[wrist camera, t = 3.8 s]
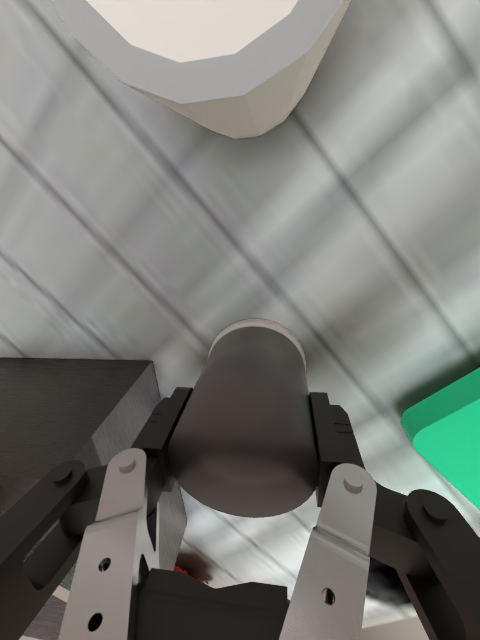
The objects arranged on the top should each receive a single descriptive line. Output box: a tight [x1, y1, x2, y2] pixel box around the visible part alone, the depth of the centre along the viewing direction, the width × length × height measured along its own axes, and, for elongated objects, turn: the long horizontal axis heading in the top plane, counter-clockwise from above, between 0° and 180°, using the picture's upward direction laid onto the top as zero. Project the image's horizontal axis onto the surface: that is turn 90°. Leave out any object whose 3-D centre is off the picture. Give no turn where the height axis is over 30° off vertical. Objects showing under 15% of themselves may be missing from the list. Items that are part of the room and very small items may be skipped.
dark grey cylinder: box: [168, 319, 319, 518], centre depth 13 cm, size 6×6×7 cm
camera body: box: [0, 358, 187, 640], centre depth 17 cm, size 16×11×8 cm
